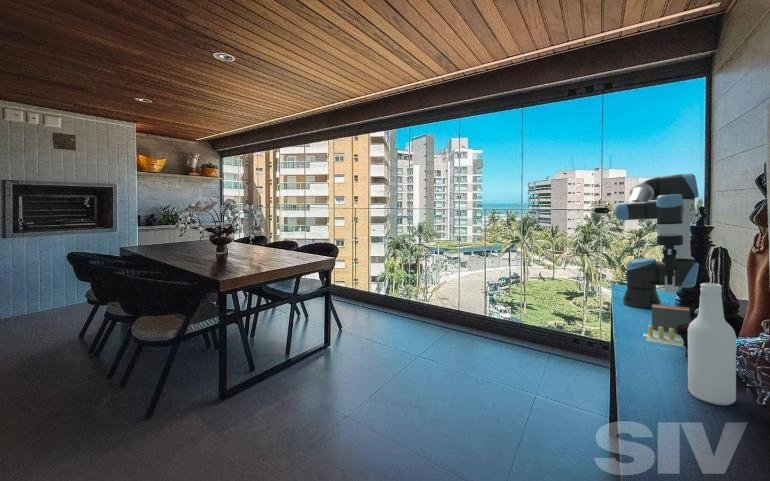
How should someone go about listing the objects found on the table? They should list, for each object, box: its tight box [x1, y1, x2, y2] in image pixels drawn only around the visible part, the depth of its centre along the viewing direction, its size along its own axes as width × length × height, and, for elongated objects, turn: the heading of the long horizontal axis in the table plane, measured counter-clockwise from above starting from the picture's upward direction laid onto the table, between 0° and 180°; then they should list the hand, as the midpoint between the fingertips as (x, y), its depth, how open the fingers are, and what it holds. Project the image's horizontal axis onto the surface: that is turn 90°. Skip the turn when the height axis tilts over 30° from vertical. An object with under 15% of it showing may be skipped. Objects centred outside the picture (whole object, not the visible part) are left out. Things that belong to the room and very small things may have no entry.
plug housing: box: [651, 304, 691, 333], centre depth 126 cm, size 5×11×9 cm, turn 48°
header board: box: [642, 324, 685, 350], centre depth 122 cm, size 20×13×5 cm, turn 138°
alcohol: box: [687, 282, 737, 406], centre depth 83 cm, size 9×9×30 cm
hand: (670, 289), depth 125 cm, fingers open, 13 cm apart
